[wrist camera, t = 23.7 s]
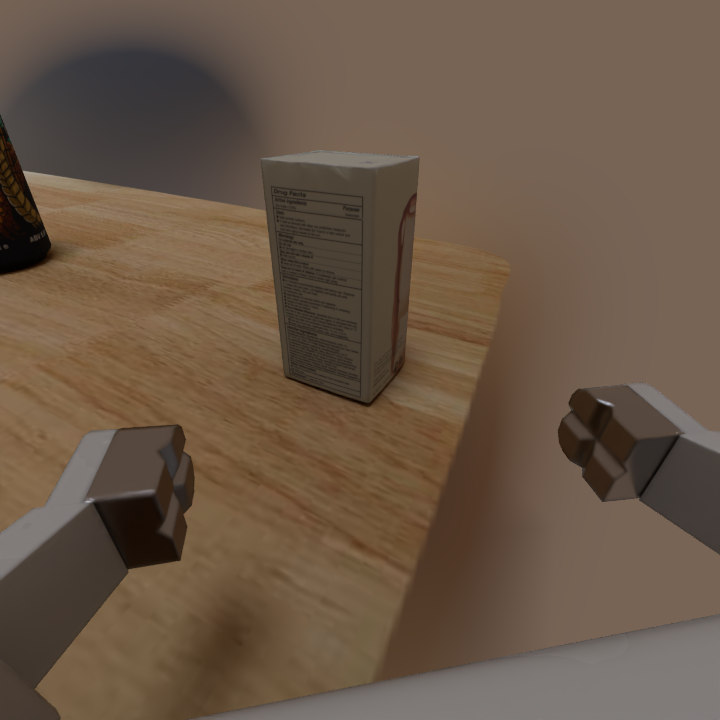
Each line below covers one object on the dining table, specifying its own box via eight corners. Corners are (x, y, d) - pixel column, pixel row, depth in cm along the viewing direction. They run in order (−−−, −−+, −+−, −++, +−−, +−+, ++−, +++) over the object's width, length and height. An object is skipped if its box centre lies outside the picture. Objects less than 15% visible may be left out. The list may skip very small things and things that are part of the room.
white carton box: (406, 363, 22) (429, 155, 16) (368, 408, 19) (380, 168, 13) (325, 337, 24) (320, 145, 18) (278, 375, 21) (255, 155, 15)
